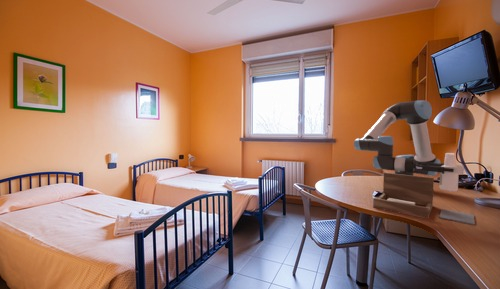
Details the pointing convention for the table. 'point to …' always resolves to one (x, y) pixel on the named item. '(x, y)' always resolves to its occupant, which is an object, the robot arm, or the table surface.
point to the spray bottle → (449, 174)
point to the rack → (406, 194)
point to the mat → (457, 216)
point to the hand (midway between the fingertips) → (463, 169)
